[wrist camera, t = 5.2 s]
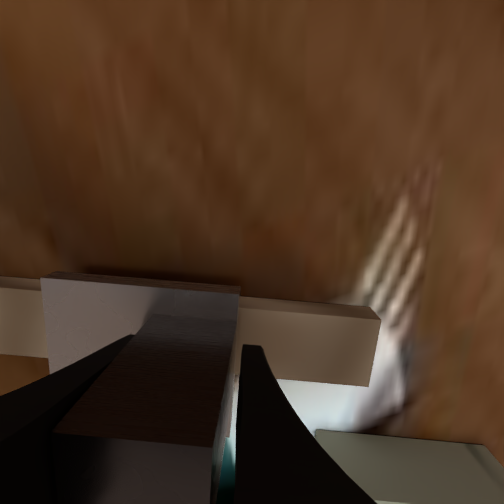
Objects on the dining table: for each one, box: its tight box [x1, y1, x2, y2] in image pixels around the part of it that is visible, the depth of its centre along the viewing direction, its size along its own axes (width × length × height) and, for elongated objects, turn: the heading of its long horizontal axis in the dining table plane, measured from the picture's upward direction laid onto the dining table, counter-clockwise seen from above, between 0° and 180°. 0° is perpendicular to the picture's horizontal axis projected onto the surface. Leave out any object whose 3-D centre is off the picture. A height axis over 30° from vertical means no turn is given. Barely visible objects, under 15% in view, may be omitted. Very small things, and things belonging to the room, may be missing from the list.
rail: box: [0, 276, 381, 387], centre depth 12 cm, size 18×3×1 cm, turn 86°
